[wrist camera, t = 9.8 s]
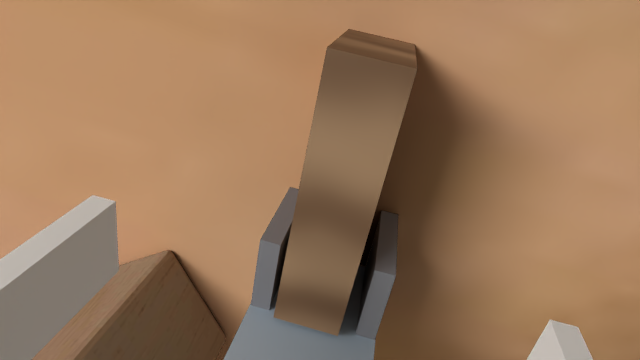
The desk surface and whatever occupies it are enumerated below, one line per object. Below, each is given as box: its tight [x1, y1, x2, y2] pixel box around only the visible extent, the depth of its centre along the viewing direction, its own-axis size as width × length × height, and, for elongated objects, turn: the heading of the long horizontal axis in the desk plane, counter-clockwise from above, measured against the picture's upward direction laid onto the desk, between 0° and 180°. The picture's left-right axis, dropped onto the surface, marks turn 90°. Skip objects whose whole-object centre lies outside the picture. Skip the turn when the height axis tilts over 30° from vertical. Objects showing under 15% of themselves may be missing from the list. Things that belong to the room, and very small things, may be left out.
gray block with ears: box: [224, 187, 398, 360], centre depth 26 cm, size 11×8×16 cm
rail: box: [273, 29, 417, 336], centre depth 26 cm, size 16×4×8 cm, turn 168°
